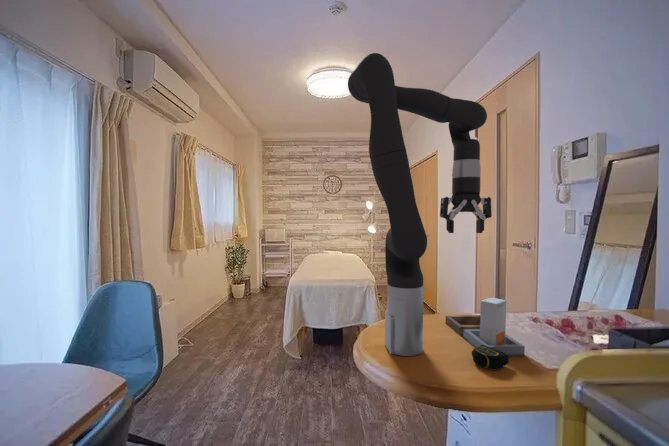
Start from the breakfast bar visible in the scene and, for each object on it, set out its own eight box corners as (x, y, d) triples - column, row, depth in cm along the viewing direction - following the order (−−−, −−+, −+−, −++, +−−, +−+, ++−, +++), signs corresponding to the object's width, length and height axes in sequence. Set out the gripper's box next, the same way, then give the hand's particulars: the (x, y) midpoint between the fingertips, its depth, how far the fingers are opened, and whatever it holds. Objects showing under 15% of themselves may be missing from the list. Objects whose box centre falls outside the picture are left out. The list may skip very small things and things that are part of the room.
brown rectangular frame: (459, 335, 94) (459, 327, 94) (445, 323, 104) (445, 315, 104) (500, 334, 95) (500, 325, 95) (482, 322, 105) (482, 314, 105)
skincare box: (495, 350, 83) (495, 304, 82) (479, 344, 86) (479, 300, 86) (506, 344, 86) (506, 300, 86) (490, 339, 90) (491, 296, 89)
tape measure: (510, 368, 75) (510, 352, 75) (493, 376, 71) (493, 359, 71) (483, 356, 81) (483, 342, 80) (466, 363, 77) (466, 348, 77)
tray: (486, 357, 80) (486, 347, 80) (463, 338, 92) (463, 329, 92) (524, 355, 81) (524, 346, 81) (497, 337, 93) (497, 328, 93)
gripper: (447, 175, 88) (446, 234, 89) (497, 175, 89) (496, 233, 90) (436, 178, 95) (436, 232, 96) (483, 178, 96) (482, 232, 97)
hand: (465, 233), depth 93 cm, fingers open, 8 cm apart
